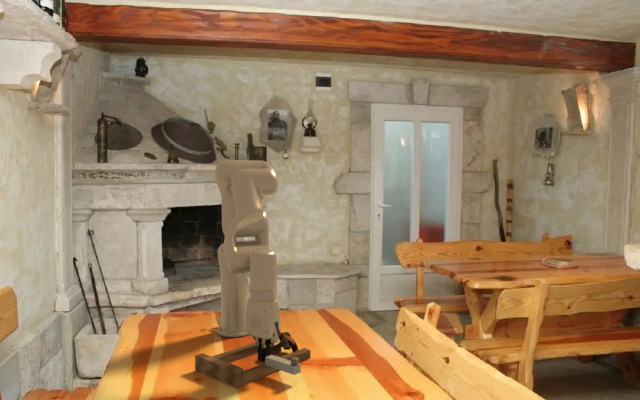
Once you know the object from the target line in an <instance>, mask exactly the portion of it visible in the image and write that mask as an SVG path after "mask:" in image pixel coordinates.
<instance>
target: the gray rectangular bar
mask: <svg viewBox="0 0 640 400" xmlns="http://www.w3.org/2000/svg"><path fill="white" fill-rule="evenodd" d="M280 357H281V356H277V355H270V356H267V357H265V362H264V363H265V365H267V366H270V367H273V368H276V369H279V371H281V372H285V373H286V374H287V373H288V374H290V375H293V376H295V375H298V374H301V371H302V370H301V369H302V367H301V363H300V362H299V358H297V357H293V358H291V361H289V360H286V359H283V358H280Z"/></svg>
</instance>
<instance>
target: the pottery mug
mask: <svg viewBox="0 0 640 400" xmlns="http://www.w3.org/2000/svg"><path fill="white" fill-rule="evenodd" d="M278 338H279V342H277V343H275V344H274V346H272V347H270V355H274V356H276V355H277V354H278V355H283V354H282V348H283V350H284V351H288V350H292V352H291V353H293V352H295V351H298V350H300V349H299V347H298V345H297V342H296V340H295V339H294V338H293V337H292V335H291V333H290V332H288V331H285V332H282V331H281V332H280V335H279V336H278Z"/></svg>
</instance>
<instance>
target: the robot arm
mask: <svg viewBox="0 0 640 400" xmlns="http://www.w3.org/2000/svg"><path fill="white" fill-rule="evenodd" d="M214 173H215V175H214V176H215V181H216V184H217V187H218V190H219V193H220V196H221V228H222V229H221V230H222V233H223V235H224V237H223V238H224V241H223V243H221V244H220V245H219V247H218V249H217V260H218V265H219V273H220V309H221V311H220V312H221V315H220V316H219V317H218V318H216V323H219V327H218V328H217V329H216V333H217V334H218V335H219V336H221V337H226V338H238V337H245V336H248V335H249V336H250V337H251V338H252V339H254V341H255V342H256V346H257V347H258V353H257V361H258V362H261V363H265V357H267V356H270V346H272V343H274V344H278V343H279V342H280V340H279V338H278V336H279V335H280V333H281V332H282V331H281V330H282V327H281V326H282V325H281V322H282V321H281V320H282V319H281V312H280V305H279V301H278V272H277V271H278V270H277V269H278V260H277V254H276V251H275V250H274V249H273V248H272V247H271V246H270V229H269V228H270V225H269V217H268V215H267V212H266V211H264V207H263V206H264V205H263V201H262V196H274V195H275V194H277V192H278V189H279V181H278V179H279V178H278V176H277V173H276V171H275V169H273V167H272V166H271V165H270V164H269V163H268V162H267V161H265V160H258V159H257V160H256V159H255V160H254V159H253V160H252V159H251V160H249V159H248V160H247V159H243V160H242V159H240V160H239V159H237V160H236V159H231V160H222V161H220V162H218V163H217V164H216V166H215V171H214ZM252 237H253V238H254V239H253V240H252V239H251V240H235V238H252ZM247 273H248V274H249V279H248V277H247V276H246V275H245V274H247Z"/></svg>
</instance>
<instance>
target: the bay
mask: <svg viewBox="0 0 640 400" xmlns="http://www.w3.org/2000/svg"><path fill="white" fill-rule="evenodd" d="M274 345H275V343H272V346H274ZM272 346H270V347H272ZM255 354H258V347H257V346H256V341H255V342H252V343H249V344H245V345H243V346H240V347H236V348H233V349H230V350H228V351H227V350H226V351H224V352H221V353H219V354H216V355H215V354H214V355H212V356H211V355H208V354H206V353H203V352H201V353H198V354H195V355H194V362H195V363H194V367H195V369H194V370H195V372H198V373H199V374H200V373H201V374H202V375H204V376H207V377H209V378H212V379H215V380H216V381H219V382H222V383H225V384H226V385H229V386H231V387H234V388H239V387H242V386H244V385H247V384H249V383H251V382H254V381H256V380H260V379H262V378H264V377H267V376H269V375H272V374H274V373H276V372H279V371H280V370H279V369H276V368H273V367H270V366H267V365H265V362H262V363H261V364H259V365H256V366H253V367H250V368H248V369H245V370H244V367H241V366H239V365H235V364H233V362H235V361H238V360H240V359H243V358H244V359H245V358H248V357H250V356H252V355H255ZM279 357H280V358H283V359H286V360H289V361H291V358H293V357H297V358H299V363H301V362H304V361H306V360H309V359H311V349H308V348H306V347H303V348H301V349H299V350H298V351H295V352H293V353H292V352H291V353H287V354H285V355H282V356H279Z"/></svg>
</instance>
